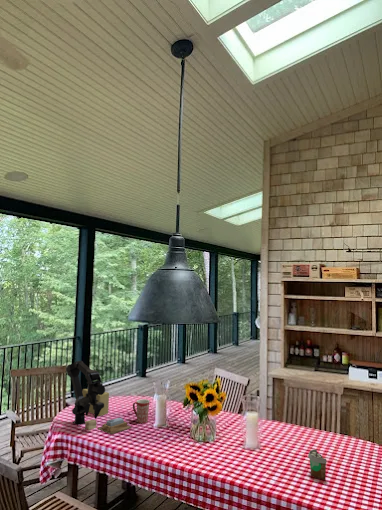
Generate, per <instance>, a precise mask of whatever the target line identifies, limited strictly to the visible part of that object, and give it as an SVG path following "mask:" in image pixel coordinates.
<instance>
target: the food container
mask: <svg viewBox="0 0 382 510" xmlns="http://www.w3.org/2000/svg"><path fill="white" fill-rule="evenodd" d="M317 450H318V449H317V448H316V449H311V450H309V451H308V456H307V457H308V459H309V466H310V468H309V469H310V475H311V476H312V477H313V478H314V479H318V480H323V481H325V480H326V476H327V475H326V472H327V471H326V470H327V458H325V457H323V456H322V454H321V453H319V452H318V451H317Z"/></svg>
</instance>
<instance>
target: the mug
mask: <svg viewBox="0 0 382 510" xmlns="http://www.w3.org/2000/svg"><path fill="white" fill-rule="evenodd" d="M150 402H151V401H150V400H149V399H145V398H144V399H143V398H141V399H137V400H136V401H134V402H133V403H132V409H133V412H134V415H135V417H136V423H138V424H146V423H148V421H149V410H150ZM135 405H136V407H135Z"/></svg>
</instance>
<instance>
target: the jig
mask: <svg viewBox="0 0 382 510" xmlns="http://www.w3.org/2000/svg"><path fill="white" fill-rule="evenodd" d="M131 429H132V426H130V425H128V421H127V422H126V421H124V423H121V424H118V425H115V426H111V427H110V426H107V422H106V423H103V424H102V425H101V426H100V427H98V428H97V430H99V431H102V432H103V433H106V434H109V435H115V434H118V433H120V432H121V433H122V432H124V431H127V430H131Z"/></svg>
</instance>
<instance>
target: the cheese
mask: <svg viewBox="0 0 382 510" xmlns="http://www.w3.org/2000/svg"><path fill="white" fill-rule="evenodd" d="M82 393H83V397H85V396H86V393H88V388H83V389H82ZM109 399H110V392H106V391H105V392H104V394H102V395H99V394H98V395H97V400H98V402H102V403H104V408H102V409H101V411H100V412H99V414H98V416H97V417H102V416H104V415H107V414H108V413H109V403H110V402H109ZM96 403H97V402H96ZM89 413H90V414H92V415H94V410H93V405H91V404H90V408H89V412H88V414H89Z"/></svg>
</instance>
